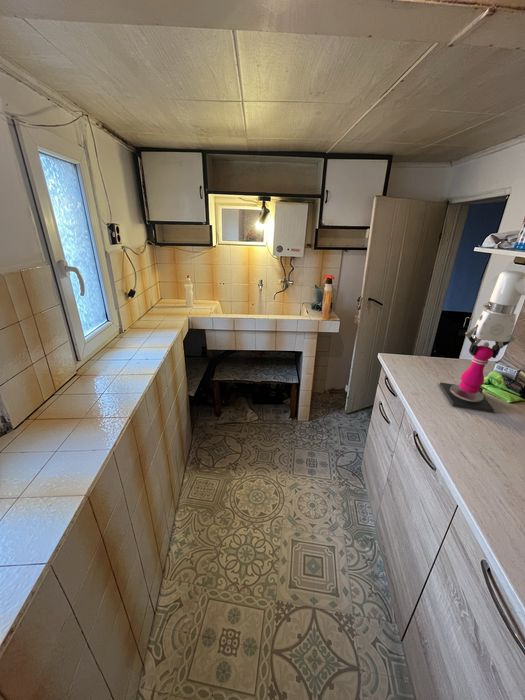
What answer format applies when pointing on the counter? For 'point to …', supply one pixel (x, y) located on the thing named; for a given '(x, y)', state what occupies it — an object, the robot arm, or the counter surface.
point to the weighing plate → (466, 394)
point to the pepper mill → (476, 369)
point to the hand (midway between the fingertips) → (482, 354)
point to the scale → (459, 402)
